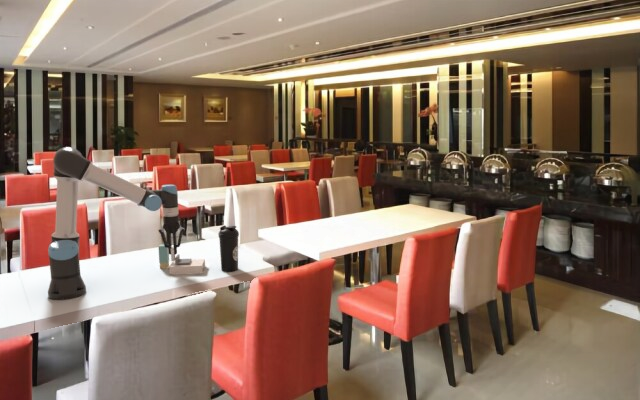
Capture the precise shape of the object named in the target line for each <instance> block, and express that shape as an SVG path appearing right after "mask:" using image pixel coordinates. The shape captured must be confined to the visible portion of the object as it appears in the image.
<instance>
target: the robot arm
mask: <svg viewBox="0 0 640 400" xmlns="http://www.w3.org/2000/svg"><path fill="white" fill-rule="evenodd" d="M53 177H54V178H55V179H56V181H57V182H56V206H55V229H54V230H55V231H54V232H53V233H52V234H50V235H51V236H50V237H51V239H50V244H49V246H48V249H47V254H48V259H49V270H50V282H49V287H48V290H47V297H48V298H49V299H51V300H70V299H73V298H79V297H80V296H82V295H84V294H86V292H87V286H86V284H85V282H84V280H83V277H82V276H81V267H80V266H81V264H80V233H78V232H77V221H78V194H79V193H78V192H79V181H87V182H89V183H91V184H93V185H96V186H97V187H99V188H102V189H104V190H107V191H109V192H111V193H113V194H115V195H118V196H119V197H122V198H124V199H126V200H129V202H130V201H131V202H133V203H135V204H137V206H138V207H143V208H145V209H146V210H148V211H151V212H157V211H159V210H160V209H161V207H162V215H163V217H162V219H163V221H162V222H163V225H162V227H161V228H160V227H159V229H158V232H159V234H160V237H161V240H162V244H164V246H165V247H167V248H168V249H169V255H170V258H171V259H170V261H171V262H173V261H175V258H176V255H178V248H179V247H180V246H181V243H182V240H183V233H184V232H185V227H183V226H181V224H180V216H179V214H180V213H179V200H178V199H179V198H178V196H179V195H178V186H177V185H176V184H163V185H161V188H160V189H149V190H147V189H144V188H143V187H140V186H138V185H137V184H134V183H132V182H131V181H129V180H126V179H124V178H122V177H120V176H118V175H115V174H114V173H111V172H110V171H107V170H105V169H103V168H101V167H98V166H97V165H95V164H93V162H92V161H91V160H89V159H87V158H86V157H84V156H83V154H82V152H81V151H80V150H78V149H77V148H74V147H71V146H65V147H61V148H59V149H58V150H57V151H56V152H55V154H54V157H53ZM178 231H179V235H178V239H177V233H178ZM165 233H166V234H167V237H166V234H165ZM172 242H173V245H172Z"/></svg>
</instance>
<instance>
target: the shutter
mask: <svg viewBox="0 0 640 400" xmlns="http://www.w3.org/2000/svg"><path fill="white" fill-rule="evenodd" d="M180 257H181V256H180V254H176V255H175V265H176V264H190V262H191V259H192V258H180Z"/></svg>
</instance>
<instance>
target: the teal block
mask: <svg viewBox="0 0 640 400" xmlns="http://www.w3.org/2000/svg"><path fill="white" fill-rule="evenodd" d="M158 259H159V260H158V261H159V269H169V267H170V254H169V249H168V248H167V247H165V246H164V243H160V244H159V245H158Z"/></svg>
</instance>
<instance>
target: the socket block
mask: <svg viewBox="0 0 640 400" xmlns="http://www.w3.org/2000/svg"><path fill="white" fill-rule="evenodd" d="M190 259H191V262H190V264H176V265H175V261H171V263H170V264H169V267H168V269H169V275H195V274H203V272H204V271H205V268H206V259H205V258H198V259H197V258H195V259H193V258H190Z"/></svg>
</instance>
